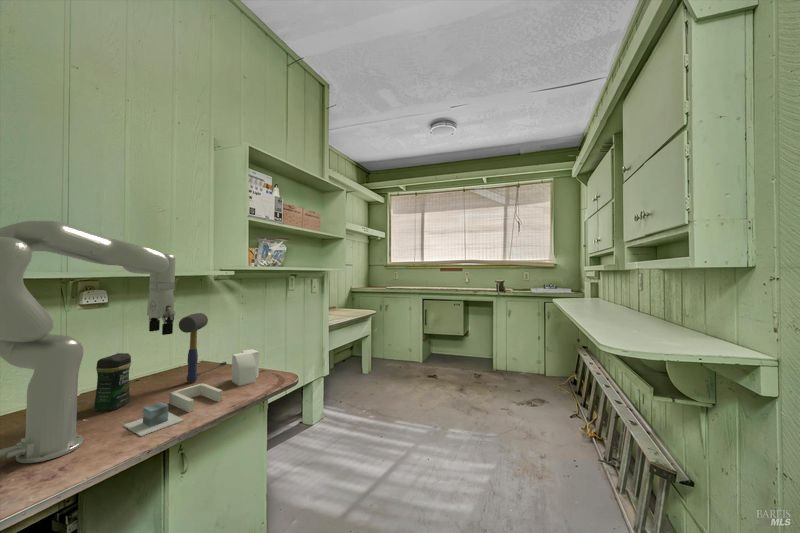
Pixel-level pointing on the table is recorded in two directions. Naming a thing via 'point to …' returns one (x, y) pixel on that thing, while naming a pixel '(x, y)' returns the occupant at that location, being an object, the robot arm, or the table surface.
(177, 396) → the bay
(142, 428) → the mat
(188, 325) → the rubber mallet
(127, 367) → the coffee jar
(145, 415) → the block
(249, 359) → the corner bracket
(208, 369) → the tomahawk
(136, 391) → the table surface
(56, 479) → the table surface
